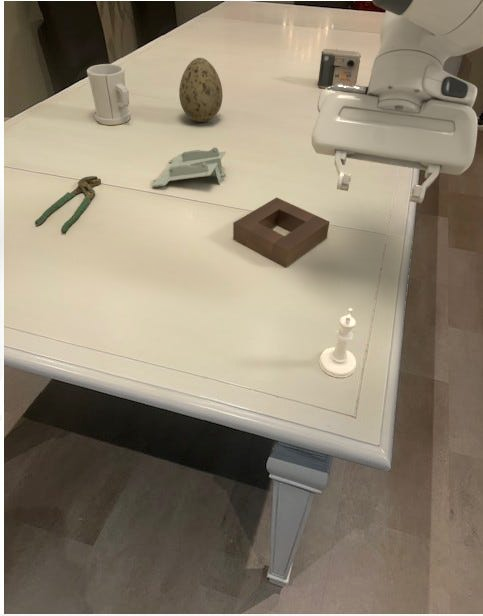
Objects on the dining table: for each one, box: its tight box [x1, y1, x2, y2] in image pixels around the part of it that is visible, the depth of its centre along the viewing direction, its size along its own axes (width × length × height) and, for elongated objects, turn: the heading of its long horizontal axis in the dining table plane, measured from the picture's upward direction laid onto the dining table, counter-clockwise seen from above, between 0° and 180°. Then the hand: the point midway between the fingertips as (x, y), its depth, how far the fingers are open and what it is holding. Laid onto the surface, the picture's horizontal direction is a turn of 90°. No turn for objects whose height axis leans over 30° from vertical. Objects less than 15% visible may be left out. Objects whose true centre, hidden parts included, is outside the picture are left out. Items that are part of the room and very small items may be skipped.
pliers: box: [34, 175, 102, 234], centre depth 93 cm, size 20×7×1 cm, turn 165°
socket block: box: [232, 196, 330, 268], centre depth 85 cm, size 12×12×4 cm
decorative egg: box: [178, 57, 224, 123], centre depth 120 cm, size 11×11×15 cm
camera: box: [317, 48, 362, 89], centre depth 142 cm, size 11×6×10 cm, turn 73°
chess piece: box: [318, 307, 357, 379], centre depth 62 cm, size 5×5×10 cm
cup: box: [86, 63, 131, 126], centre depth 120 cm, size 10×9×12 cm
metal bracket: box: [151, 146, 227, 188], centre depth 102 cm, size 14×6×15 cm
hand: (378, 195), depth 62 cm, fingers open, 8 cm apart
